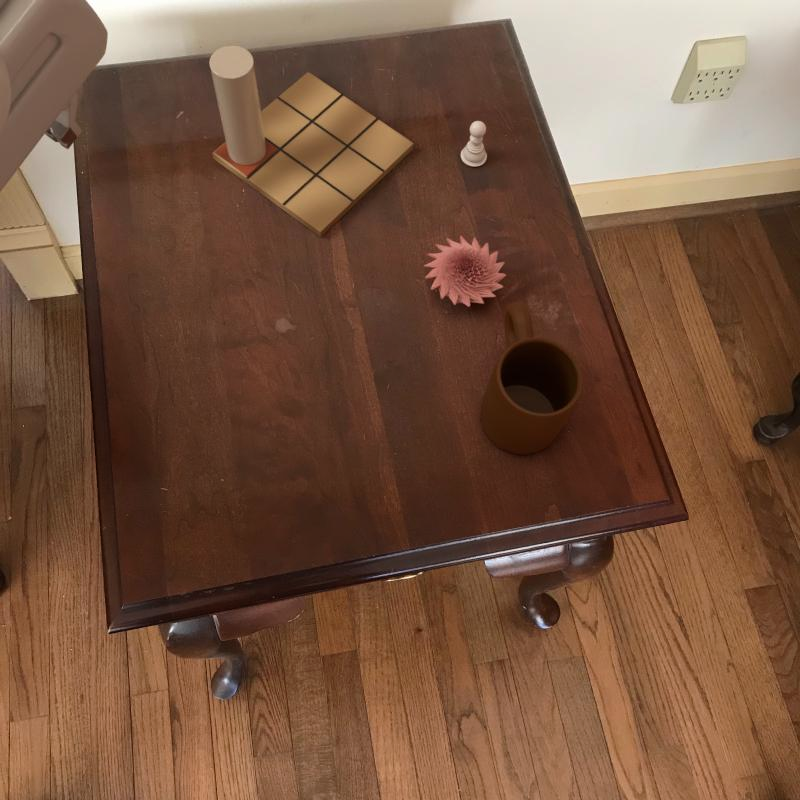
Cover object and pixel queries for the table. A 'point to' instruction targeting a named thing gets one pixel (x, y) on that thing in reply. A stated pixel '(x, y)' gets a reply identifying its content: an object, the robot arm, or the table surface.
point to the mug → (529, 388)
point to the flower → (465, 272)
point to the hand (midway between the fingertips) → (20, 194)
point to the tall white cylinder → (238, 104)
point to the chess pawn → (475, 146)
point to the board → (319, 154)
